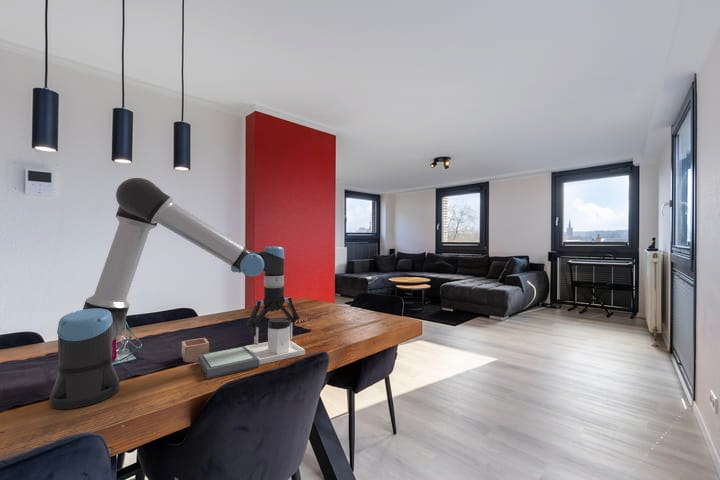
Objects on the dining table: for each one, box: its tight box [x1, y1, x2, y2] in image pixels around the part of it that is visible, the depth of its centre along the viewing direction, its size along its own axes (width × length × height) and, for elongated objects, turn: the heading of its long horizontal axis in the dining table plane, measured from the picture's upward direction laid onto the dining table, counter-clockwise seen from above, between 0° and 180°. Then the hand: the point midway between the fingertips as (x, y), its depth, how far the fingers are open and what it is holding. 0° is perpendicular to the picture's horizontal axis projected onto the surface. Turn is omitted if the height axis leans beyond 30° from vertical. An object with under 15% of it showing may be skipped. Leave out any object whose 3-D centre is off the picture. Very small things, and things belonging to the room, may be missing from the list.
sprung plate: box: [203, 346, 253, 368], centre depth 115 cm, size 13×13×1 cm
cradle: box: [198, 345, 259, 380], centre depth 115 cm, size 16×16×3 cm
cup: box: [181, 337, 210, 363], centre depth 122 cm, size 8×8×6 cm
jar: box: [267, 316, 291, 354], centre depth 128 cm, size 9×8×12 cm
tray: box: [244, 340, 306, 366], centre depth 128 cm, size 18×18×2 cm
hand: (273, 341), depth 128 cm, fingers open, 13 cm apart
